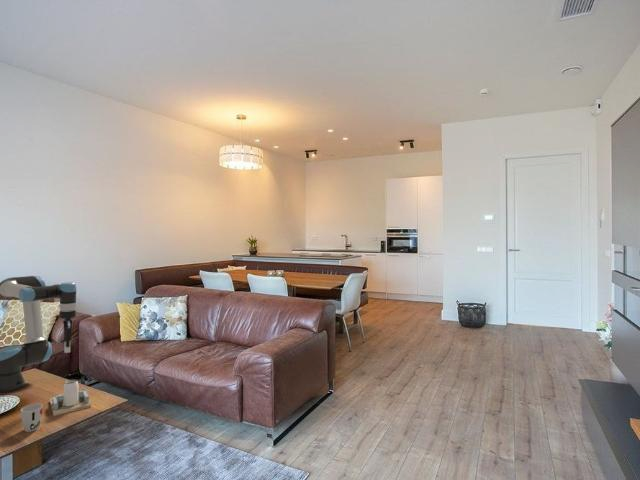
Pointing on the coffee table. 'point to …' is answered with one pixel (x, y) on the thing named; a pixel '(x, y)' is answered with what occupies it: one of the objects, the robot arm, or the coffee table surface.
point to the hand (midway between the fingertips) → (67, 352)
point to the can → (70, 393)
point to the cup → (31, 416)
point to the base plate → (63, 409)
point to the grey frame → (61, 397)
